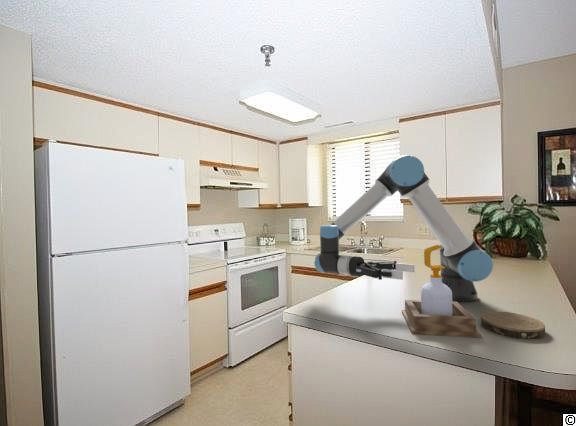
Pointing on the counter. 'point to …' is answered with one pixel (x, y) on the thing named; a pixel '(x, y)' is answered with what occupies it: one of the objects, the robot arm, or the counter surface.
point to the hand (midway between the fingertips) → (408, 271)
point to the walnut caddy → (440, 321)
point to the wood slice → (513, 325)
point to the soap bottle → (435, 290)
